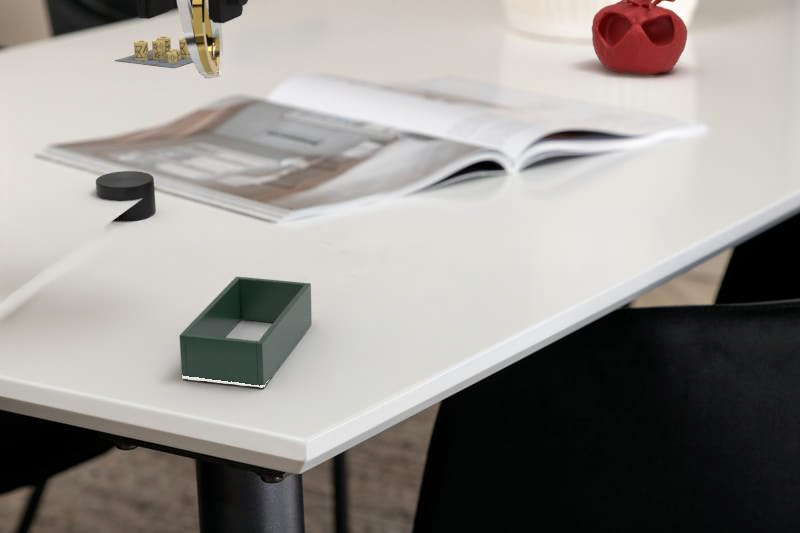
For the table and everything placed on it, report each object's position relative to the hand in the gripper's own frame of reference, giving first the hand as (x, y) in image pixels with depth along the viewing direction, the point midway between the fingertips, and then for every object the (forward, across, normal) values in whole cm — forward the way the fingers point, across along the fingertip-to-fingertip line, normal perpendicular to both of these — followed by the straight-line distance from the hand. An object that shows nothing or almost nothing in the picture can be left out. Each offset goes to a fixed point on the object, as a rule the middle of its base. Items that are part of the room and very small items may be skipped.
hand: (190, 13), depth 68 cm
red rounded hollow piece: (+17, +19, +73) cm, 78 cm away
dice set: (+17, -32, +65) cm, 74 cm away
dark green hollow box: (+17, +5, -5) cm, 18 cm away
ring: (+4, +1, 0) cm, 4 cm away
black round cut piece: (+17, -12, +14) cm, 25 cm away
